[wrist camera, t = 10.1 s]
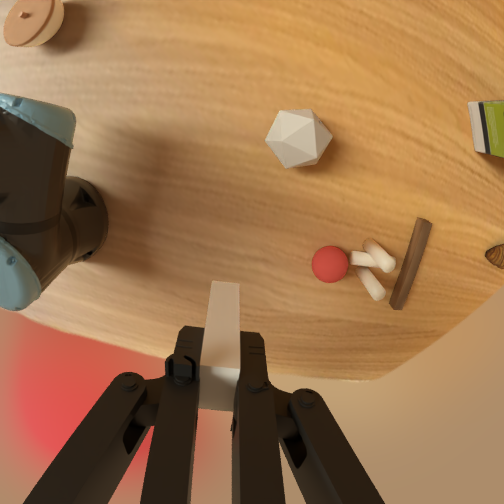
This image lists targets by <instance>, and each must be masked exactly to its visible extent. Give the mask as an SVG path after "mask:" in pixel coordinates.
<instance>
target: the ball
mask: <svg viewBox="0 0 504 504" xmlns="http://www.w3.org/2000/svg"><path fill="white" fill-rule="evenodd" d="M347 269H348V260H347V257H346V255H345V253H344V252H343V251H342V250H340V249H339V248H337V247H334V246H326V247H323V248H321V249H320V250H318V251H317V252H316V254H315V255H314V257H313V260H312V270H313V272H314V274H315V276H316V277H317V278H318V279H319V280H321V281H323V282H326V283H334V282H337V281H339V280H340V279H342V278H343V277H344V275H345V274H346V272H347Z"/></svg>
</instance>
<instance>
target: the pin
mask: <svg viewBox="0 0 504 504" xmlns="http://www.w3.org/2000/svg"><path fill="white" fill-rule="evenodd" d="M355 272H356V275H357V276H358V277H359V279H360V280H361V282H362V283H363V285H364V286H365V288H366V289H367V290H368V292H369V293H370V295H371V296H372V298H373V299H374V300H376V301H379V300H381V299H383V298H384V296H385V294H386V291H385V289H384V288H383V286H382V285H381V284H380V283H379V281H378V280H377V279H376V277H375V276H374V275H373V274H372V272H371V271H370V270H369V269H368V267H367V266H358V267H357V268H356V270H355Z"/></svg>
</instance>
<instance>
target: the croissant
mask: <svg viewBox="0 0 504 504" xmlns="http://www.w3.org/2000/svg"><path fill="white" fill-rule="evenodd" d="M485 257H486V258H487V259H488V260H489V261H490V262H491V263H492V264H493V265H497V267H499V268H501V269H504V244H502V245H499V246H495V247H493V248H491V249H489V250H488V251H487V252H486V255H485Z"/></svg>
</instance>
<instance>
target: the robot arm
mask: <svg viewBox="0 0 504 504" xmlns="http://www.w3.org/2000/svg"><path fill="white" fill-rule="evenodd" d="M75 127H76V117H75V114H74V113H73V112H72V111H71V110H70V109H68V108H65V107H61V106H58V105H54V104H50V103H46V102H42V101H37V100H33V99H29V98H25V97H20V96H15V95H10V94H5V93H0V307H2V308H4V309H7V310H10V311H20V310H22V309H25V308H26V307H28V306H29V305H30V304H31V303H32V302H33V301H34V300H37V299H38V298H39V297H40V295H41V293H42V292H43V291H44V290H45V289H46V288H47V287H48V286H49V285H50V283H51V282H52V281H53V280H54V279H55V278H56V277H57V276H58V275H59V274H60V273H61V272H62V271H63V270H64V269H65V268H66V267H67V266H68V265H70V264H74V263H78V262H82V261H84V260H86V259H88V258H90V257H91V256H92V255H94V254H95V253H96V252H97V251H98V250H99V248H100V247H101V246H102V244H103V243H104V241H105V238H106V235H107V231H108V215H107V210H106V207H105V204H104V202H103V200H102V198H101V196H100V195H99V193H98V192H97V191H96V189H95V188H94V187H93V186H92V185H90V184H89V183H88V182H86V181H85V180H83V179H80V178H77V177H72V176H67V177H66V175H67V169H68V164H69V158H70V153H71V149H73V137H74V132H75ZM198 408H201V409H211V410H221V411H233V419H232V425H231V430H230V431H232V504H286V503H285V494H284V486H283V476H282V467H281V458H280V450H279V443H280V445H281V447H282V450H283V452H284V454H285V457H286V459H287V461H288V464H289V466H290V468H291V470H292V473H293V475H294V477H295V479H296V482H297V484H298V486H299V488H300V491H301V493H302V495H303V497H304V499H305V502H306V504H385V503H384V501H383V500H382V498H381V496H380V495H379V493H378V491H377V489H376V488H375V486H374V484H373V483H372V481H371V480H370V478H369V476H368V475H367V473H366V471H365V469H364V468H363V466H362V464H361V463H360V461H359V459H358V458H357V456H356V454H355V453H354V451H353V449H352V448H351V446H350V444H349V443H348V441H347V439H346V437H345V436H344V434H343V432H342V431H341V429H340V427H339V426H338V424H337V422H336V421H335V419H334V417H333V415H332V414H331V412H330V410H329V408H328V407H327V405H326V403H325V402H324V400H323V398H322V397H321V396H320V395H319V394H318V393H317V392H315V391H313V390H311V389H307V388H306V389H299V390H296V391H295V392H293V393H288V392H284V391H282V390H279V389H277V388H275V387H274V386H273V385H272V384H271V382H270V381H269V379H268V373H267V364H266V355H265V346H264V339H263V338H262V337H261V335H260V334H259V333H255V332H244V331H240V284H239V283H232V282H223V281H214V280H212V284H211V291H210V297H209V304H208V310H207V317H206V324H205V328H200V327H192V326H184V327H183V328H182V329H181V330H180V331H179V334H178V338H177V342H176V347H175V350H174V354H172V355H170V356H169V357H167V359H166V361H165V375H164V376H163V377H160V378H157V379H150V380H144V378H143V377H142V376H141V375H139V374H137V373H133V372H124V373H122V374H119V375H118V376H117V377H115V378H114V380H113V381H112V382H111V384H110V385H109V386H108V387H107V389H106V390H105V391H104V393H103V394H102V395H101V397H100V398H99V399H98V401H97V402H96V403H95V405H94V406H93V407H92V409H91V410H90V411H89V413H88V414H87V415H86V417H85V418H84V419H83V421H82V422H81V423H80V425H79V426H78V427H77V429H76V430H75V431H74V433H73V434H72V435H71V437H70V438H69V440H68V441H67V442H66V444H65V445H64V446H63V448H62V449H61V450H60V452H59V453H58V455H57V456H56V457H55V459H54V460H53V461H52V463H51V464H50V466H49V467H48V468H47V470H46V471H45V473H44V474H43V475H42V477H41V478H40V480H39V481H38V482H37V484H36V485H35V487H34V488H33V490H32V491H31V493H30V494H29V495H28V497H27V498H26V500H25V501H24V503H23V504H108V502H109V500H110V499H111V497H112V495H113V493H114V492H115V490H116V488H117V486H118V484H119V482H120V481H121V479H122V477H123V475H124V474H125V472H126V470H127V468H128V467H129V465H130V463H131V461H132V459H133V458H134V456H135V454H136V452H137V450H138V449H139V447H140V445H141V443H142V442H143V440H144V438H145V436H146V434H147V433H148V431H149V429H150V427H151V426H154V431H153V436H152V441H151V446H150V451H149V456H148V462H147V467H146V472H145V477H144V483H143V489H142V495H141V501H140V504H190V501H191V486H192V474H193V462H194V451H195V440H196V430H197V420H198ZM278 440H279V441H278Z"/></svg>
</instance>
